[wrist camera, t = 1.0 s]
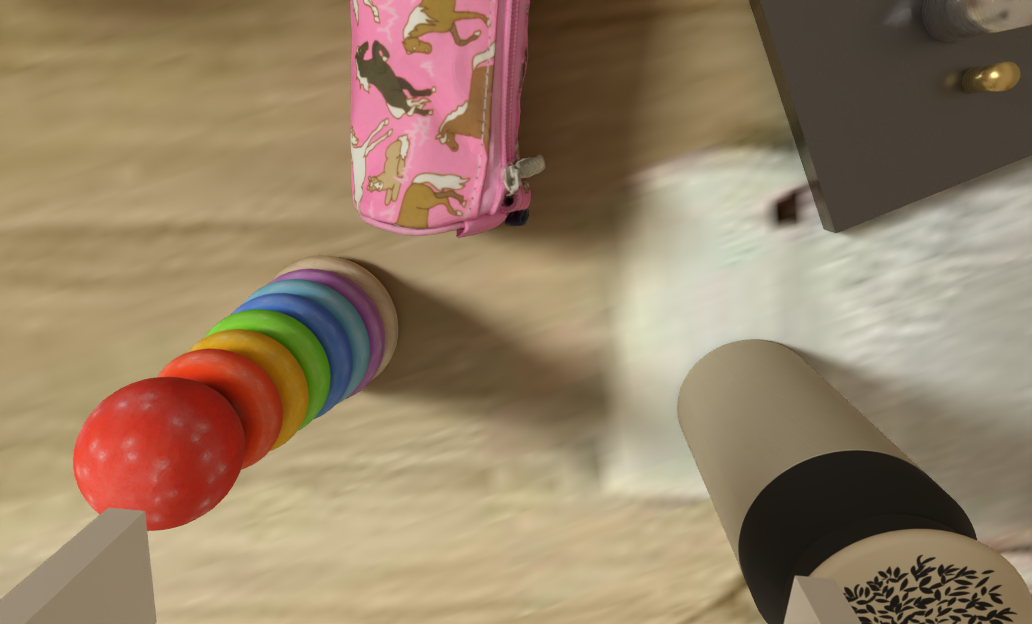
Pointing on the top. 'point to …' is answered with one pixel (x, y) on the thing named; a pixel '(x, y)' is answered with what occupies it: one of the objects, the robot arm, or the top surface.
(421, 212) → the pencil case
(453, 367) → the top surface
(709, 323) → the top surface
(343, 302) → the stacking toy
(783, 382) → the travel mug
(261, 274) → the top surface
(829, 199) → the post plate
